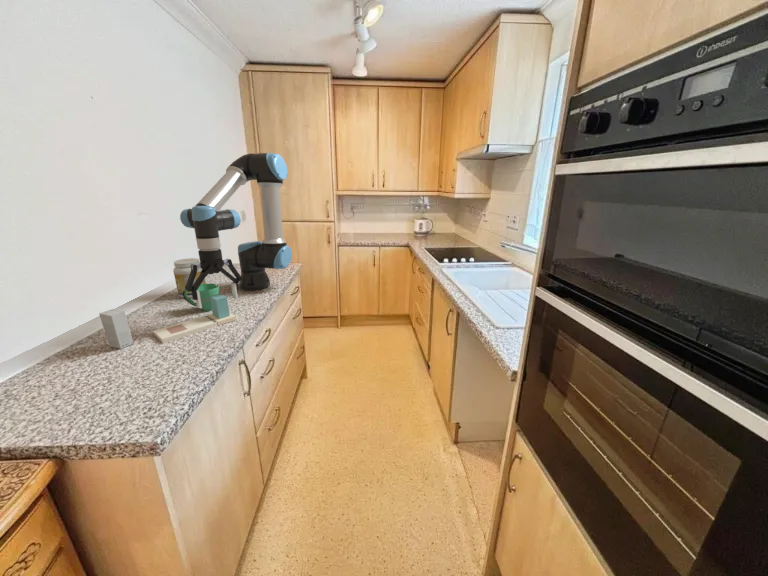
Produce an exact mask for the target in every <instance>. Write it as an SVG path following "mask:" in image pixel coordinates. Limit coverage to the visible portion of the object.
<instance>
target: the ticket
mask: <svg viewBox="0 0 768 576" xmlns="http://www.w3.org/2000/svg"><path fill="white" fill-rule="evenodd" d="M218 326H219V325H217V322H216V321H214V320H212V319H211V318H209V317H208V316H207V315H203V316H200V317H195V318H192V319H189V320H185V321H182V322H178V323H175V324H172V325H168V326H165V327H162V328H158V329H154V330H152V332H153V335H154V336H155V337H156V338H157V339H158V340H160V341H159V342H161V343H162V344H164V343H165V344H166V343H169V342H171V341H175V340H178V339H180V338H184V337H187V336H190V335H193V334H196V333H200V332H203V331H206V330H209V329H210V330H211V329H213V328H217V327H218Z"/></svg>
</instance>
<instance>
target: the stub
mask: <svg viewBox="0 0 768 576" xmlns="http://www.w3.org/2000/svg"><path fill="white" fill-rule="evenodd" d="M209 297H210V302H211V308H212V311H211V313H208V314H206V316H208V317H209V318H211V319H212V320H214V321H216V322H217V325H218V326H221V325H224V324H228V323H230V322H233V321H237V315H235V314H233V313H231V312H230V311H229V309H230V308H229V304H228V303H229V302H228V297H227V296H225V295H223V294H221V293H218V294H217V295H213V296H209Z"/></svg>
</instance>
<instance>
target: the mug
mask: <svg viewBox="0 0 768 576" xmlns="http://www.w3.org/2000/svg"><path fill="white" fill-rule="evenodd" d="M197 291H199V293H200V299H201V304H202V308H201V309H202V310H203V311H204V312H210V311H211V310H212V308H211V302H210V297H209V296H213V295H217V294H220V293H219V292H220V286H219V284H216V283H206V284H202V285H200V286H199V288H198V289H197ZM186 292H191V291H187V290H185V289H184V290H183V292H182V294H183V297H184V298H183V299H184V300H185V301H186V302H187V303H189V304H190V305H192V306H194V307H195V308H196V307H197V303H196V301H195V300H192V298H189V297H188V296H187V294H186ZM194 301H195V302H194ZM197 308H198V307H197ZM211 312H212V311H211Z"/></svg>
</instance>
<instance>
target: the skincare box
mask: <svg viewBox="0 0 768 576" xmlns="http://www.w3.org/2000/svg"><path fill="white" fill-rule="evenodd" d="M99 318H100V320H101V321H100V322H101V324H102V328H103V331H104V334H105V338H106V340H107V344H108V346H109V347H111V348H114V349H119V350H122V349H124V348H127V347H129V346H131V345H134V339H133V337H132V332H131V330H130V326H129V322H128V319H127V315H126V313H125V310H119V309H115V308H114V309H113V308H112V309H108V310H107V311H102V312H99Z"/></svg>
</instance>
